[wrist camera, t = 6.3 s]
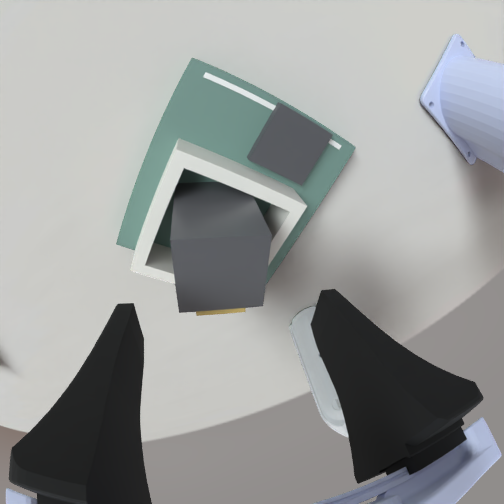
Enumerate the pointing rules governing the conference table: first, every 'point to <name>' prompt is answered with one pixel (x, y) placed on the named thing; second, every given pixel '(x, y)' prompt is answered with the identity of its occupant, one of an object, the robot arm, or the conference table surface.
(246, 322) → the conference table surface
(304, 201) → the board
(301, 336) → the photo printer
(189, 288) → the plug
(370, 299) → the conference table surface
